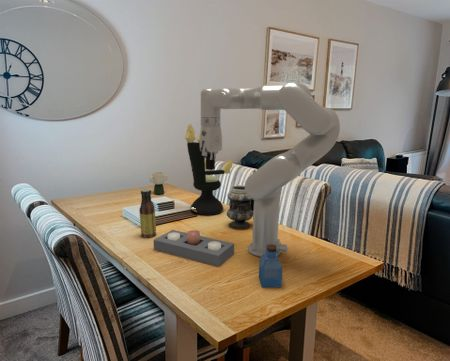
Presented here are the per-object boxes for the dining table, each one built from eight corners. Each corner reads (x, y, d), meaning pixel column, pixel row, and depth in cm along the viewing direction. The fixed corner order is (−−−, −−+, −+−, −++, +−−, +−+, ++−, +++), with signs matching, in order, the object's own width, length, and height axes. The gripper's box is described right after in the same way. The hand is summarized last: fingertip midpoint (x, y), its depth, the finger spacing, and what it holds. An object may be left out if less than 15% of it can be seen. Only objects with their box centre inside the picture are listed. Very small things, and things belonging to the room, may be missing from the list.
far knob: (182, 245, 134) (182, 233, 133) (175, 249, 130) (175, 237, 129) (172, 242, 136) (172, 231, 135) (165, 247, 132) (164, 235, 131)
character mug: (165, 191, 214) (165, 171, 211) (169, 194, 208) (169, 173, 205) (148, 193, 209) (147, 172, 206) (152, 196, 203) (151, 174, 200)
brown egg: (202, 243, 129) (202, 231, 128) (195, 248, 125) (195, 236, 124) (191, 241, 131) (191, 229, 130) (184, 245, 127) (184, 233, 126)
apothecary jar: (256, 223, 159) (258, 186, 155) (246, 232, 149) (247, 192, 145) (233, 219, 165) (234, 183, 161) (221, 227, 154) (222, 188, 150)
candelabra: (232, 211, 177) (234, 123, 167) (201, 221, 161) (201, 124, 151) (207, 203, 190) (207, 121, 180) (176, 212, 174) (174, 122, 164)
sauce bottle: (149, 231, 148) (148, 186, 144) (159, 235, 144) (158, 189, 140) (137, 235, 143) (135, 189, 139) (146, 239, 139) (145, 192, 135)
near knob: (223, 255, 126) (223, 242, 125) (216, 260, 122) (217, 247, 121) (211, 252, 128) (212, 240, 127) (205, 257, 124) (205, 245, 123)
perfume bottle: (277, 277, 111) (279, 242, 108) (281, 287, 105) (283, 250, 102) (258, 277, 111) (260, 242, 108) (261, 287, 105) (262, 250, 102)
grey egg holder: (234, 253, 128) (234, 243, 127) (218, 266, 117) (218, 255, 116) (172, 238, 140) (172, 229, 139) (153, 249, 130) (153, 239, 129)
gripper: (209, 123, 123) (208, 173, 127) (228, 121, 136) (227, 167, 140) (191, 122, 126) (191, 171, 130) (211, 120, 139) (211, 165, 143)
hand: (210, 169), depth 135 cm, fingers closed
